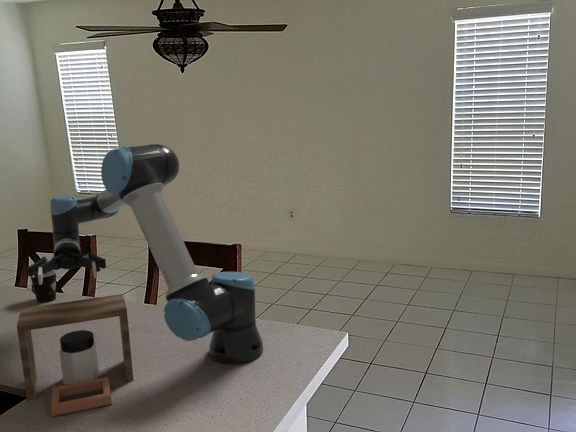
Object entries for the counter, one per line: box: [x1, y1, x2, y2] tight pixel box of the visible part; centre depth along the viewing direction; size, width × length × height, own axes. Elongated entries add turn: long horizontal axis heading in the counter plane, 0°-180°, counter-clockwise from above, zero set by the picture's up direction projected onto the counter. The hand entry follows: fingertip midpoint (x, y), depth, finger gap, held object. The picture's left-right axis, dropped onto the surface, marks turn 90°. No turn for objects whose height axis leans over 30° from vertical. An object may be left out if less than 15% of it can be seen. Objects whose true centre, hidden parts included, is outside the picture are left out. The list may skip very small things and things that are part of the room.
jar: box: [59, 329, 100, 385], centre depth 141 cm, size 9×8×12 cm
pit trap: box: [50, 376, 112, 418], centre depth 132 cm, size 10×13×2 cm
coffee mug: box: [30, 270, 57, 304], centre depth 198 cm, size 12×9×10 cm
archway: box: [16, 293, 134, 402], centre depth 140 cm, size 12×25×20 cm, turn 111°
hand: (67, 276), depth 145 cm, fingers open, 13 cm apart
